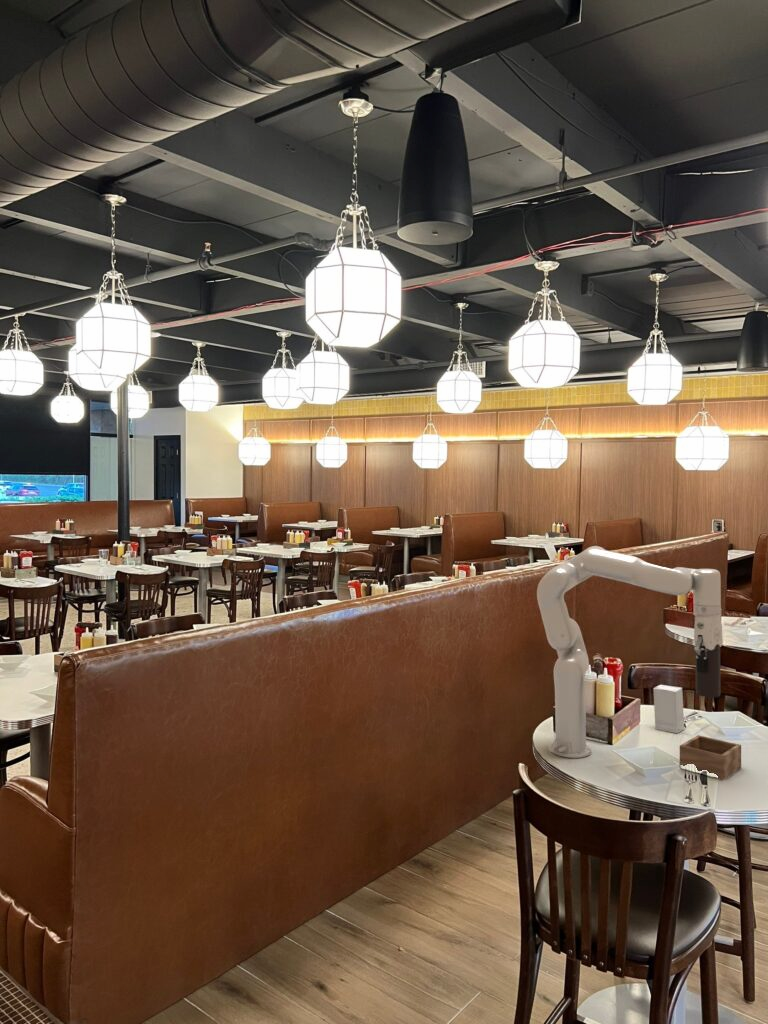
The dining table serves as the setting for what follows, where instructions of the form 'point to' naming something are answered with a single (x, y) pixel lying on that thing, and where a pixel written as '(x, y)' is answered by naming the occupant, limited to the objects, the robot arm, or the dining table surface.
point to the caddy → (711, 756)
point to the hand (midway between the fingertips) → (707, 669)
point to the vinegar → (709, 675)
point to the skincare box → (668, 708)
